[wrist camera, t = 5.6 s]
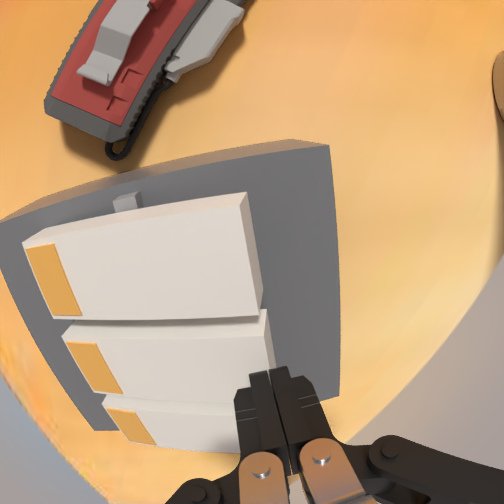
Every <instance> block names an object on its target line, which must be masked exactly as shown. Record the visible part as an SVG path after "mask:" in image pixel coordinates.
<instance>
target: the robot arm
mask: <svg viewBox="0 0 504 504" xmlns="http://www.w3.org/2000/svg"><path fill="white" fill-rule="evenodd" d="M493 86H494V93H495V99H496V102H497V106H498V109H499V112H500V114H501V117H502V119H503V121H504V51H503V52H501V53H500V54H499V55H498V56H497V58H496V61H495V64H494V69H493ZM268 371H269V376H268V372H267V370H264V371H259V372H255V373H250V374H249V380H250V385H251V387H247V388H242V389H237V392H236V395H235V397H234V400H233V401H234V409H235V417H236V424H237V432H238V439H239V447H240V454H241V457H240V461H239V464H238V466H237V467H236V468H235V469H234V470H233V471H232V472H231V473H229V474H228V475H226V476H223V477H221V478H219V479H216V480H214V481H210V480H207V479H203V478H196V479H191V480H189V481H187V482H185V483H184V484H182V485H181V486H180V488H179V489H178V490H177V491H176V492H175V493H174V494H173V495H172V497H171V498H170V499H169V500H168V501H167V502H166V503H165V504H290V500H289V494H290V489H289V484H288V478H287V476H290V475H291V470H290V465H291V469H292V472H293V475H294V474H298V473H299V475H300V478H301V482H302V487H303V492H304V495H305V497H306V500H307V502H308V504H377V502H379V503H381V504H504V470H500V469H496V468H493V467H489V466H485V465H481V464H478V463H475V462H472V461H468V460H465V459H462V458H458V457H455V456H452V455H449V454H446V453H443V452H440V451H437V450H435V449H432V448H429V447H426V446H423V445H421V444H418V443H415V442H412V441H410V440H407V439H405V438H402V437H399V436H395V435H387V436H383V437H381V438H379V439H377V440H376V441H375V442H374V443H373V444H372V445H359V446H352V445H346V444H343V443H341V442H340V441H338V440H337V439H336V438H335V437H334V436H333V434H332V432H331V429H330V427H329V424H328V422H327V419H326V417H325V414H324V412H323V409H322V407H321V404H320V402H319V399H318V397H317V395H316V392H315V389H314V387H313V384H312V383H311V382H310V381H309V380H308V379H307V378H306V377H305V376H304V375H302V376H298V377H293V378H291V376H290V373H289V370H288V367H287V366H282V367H278V368H273V369H269V370H268ZM269 377H270V380H269ZM270 382H271V384H270ZM288 457H289V458H288ZM289 461H290V464H289ZM376 501H377V502H376Z"/></svg>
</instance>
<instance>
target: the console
mask: <svg viewBox="0 0 504 504" xmlns="http://www.w3.org/2000/svg"><path fill="white" fill-rule="evenodd" d="M241 192H247V195H248V201H249V206H250V212H251V218H252V224H253V230H254V236H255V242H256V248H257V254H258V260H259V266H260V272H261V278H262V284H263V294H262V301H261V307H260V309H267V313H268V319H269V325H270V331H271V338H272V344H273V350H274V356H275V362H276V368H278V367H282V366H287V367H288V370H289V373H290V376H291V378H293V377H298V376H302V375H304V376H305V377H306V378H307V379H308V380H309V381H310V382H311V383H312V384H313V387H314V389H315V392H316V395H317V397H318V399H319V401H323V400H326V399H330V398H333V397H337V396H339V387H340V280H339V256H338V238H337V223H336V209H335V197H334V186H333V176H332V166H331V157H330V149H329V145H326V144H320V143H314V142H308V141H301V140H294V139H288V140H281V141H274V142H267V143H260V144H254V145H248V146H242V147H236V148H231V149H225V150H220V151H215V152H209V153H204V154H200V155H195V156H190V157H185V158H181V159H176V160H172V161H168V162H163V163H159V164H155V165H151V166H147V167H143V168H139V169H135V170H131V171H127V172H124V173H120V174H116V175H113V176H109V177H106V178H102V179H99V180H95V181H92V182H89V183H86V184H82V185H79V186H76V187H73V188H70V189H67V190H64V191H60V192H57V193H55V194H52V195H49V196H46V197H43V198H40V199H38V200H37V201H35V202H33V203H31V204H29V205H27V206H25V207H23V208H21V209H19V210H18V211H16V212H14V213H12V214H10V215H9V216H7V217H5V218H3V219H2V220H0V269H1V271H2V274H3V276H4V279H5V281H6V283H7V286H8V288H9V290H10V292H11V295H12V297H13V299H14V301H15V303H16V306H17V308H18V310H19V312H20V314H21V316H22V318H23V320H24V322H25V324H26V326H27V328H28V330H29V331H30V333H31V335H32V337H33V339H34V341H35V343H36V344H37V346H38V348H39V350H40V351H41V353H42V355H43V356H44V358H45V360H46V362H47V363H48V365H49V366H50V368H51V370H52V371H53V373H54V374H55V376H56V378H57V379H58V381H59V382H60V384H61V385H62V387H63V388H64V390H65V391H66V393H67V394H68V396H69V397H70V398H71V400H72V401H73V403H74V404H75V406H76V407H77V408H78V410H79V411H80V412H81V414H82V415H83V416H84V418H85V419H86V420H87V422H88V423H89V424H90V426H91V427H92V428H93V429H94V431H116V430H120V429H119V428H118V427H117V425H116V424H115V422H114V421H113V420H112V418H111V417H110V415H109V414H108V413H107V411H106V410H105V408H104V407H103V405H102V402H103V401H104V399H105V397H106V395H107V394H101V393H95V392H93V390H92V389H91V387H90V385H89V384H88V382H87V381H86V379H85V377H84V376H83V374H82V372H81V371H80V369H79V367H78V366H77V364H76V362H75V360H74V359H73V357H72V355H71V353H70V351H69V350H68V348H67V346H66V344H65V342H64V340H63V338H62V337H61V336H62V335H63V334H64V333H65V331H66V330H67V329H68V328H69V327H70V326H71V324H72V323H73V322H74V321H75V320H76V319H53V317H52V315H51V313H50V311H49V309H48V306H47V304H46V302H45V300H44V298H43V295H42V293H41V291H40V288H39V286H38V284H37V281H36V279H35V276H34V274H33V272H32V269H31V266H30V264H29V261H28V259H27V256H26V253H25V250H24V248H23V245H22V242H24V241H25V240H27V239H28V238H30V237H32V236H33V235H35V234H36V233H38V232H40V231H41V230H43V229H45V228H48V227H52V226H57V225H61V224H66V223H70V222H75V221H79V220H84V219H89V218H94V217H99V216H104V215H109V214H114V213H119V212H124V211H129V210H135V209H140V208H145V207H151V206H157V205H163V204H168V203H174V202H180V201H187V200H193V199H199V198H206V197H213V196H219V195H226V194H234V193H241Z"/></svg>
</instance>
